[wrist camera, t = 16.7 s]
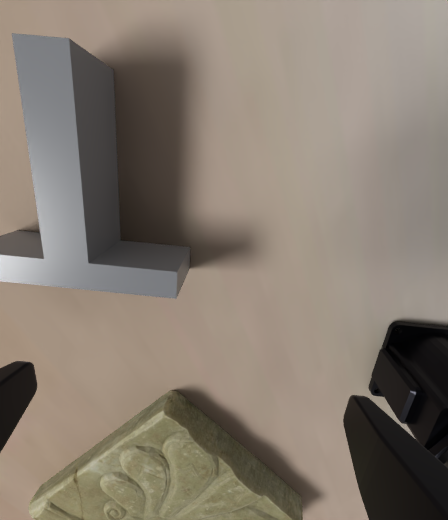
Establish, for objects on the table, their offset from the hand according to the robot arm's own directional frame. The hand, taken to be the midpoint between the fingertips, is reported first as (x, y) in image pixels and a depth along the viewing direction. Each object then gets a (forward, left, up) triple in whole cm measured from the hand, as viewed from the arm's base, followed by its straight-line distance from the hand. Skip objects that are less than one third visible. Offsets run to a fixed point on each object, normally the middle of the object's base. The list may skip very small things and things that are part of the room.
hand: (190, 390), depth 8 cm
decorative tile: (+3, +26, -13) cm, 29 cm away
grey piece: (+8, -5, -12) cm, 15 cm away
